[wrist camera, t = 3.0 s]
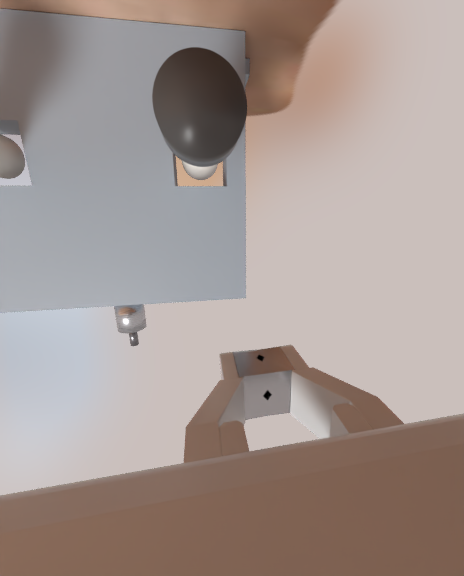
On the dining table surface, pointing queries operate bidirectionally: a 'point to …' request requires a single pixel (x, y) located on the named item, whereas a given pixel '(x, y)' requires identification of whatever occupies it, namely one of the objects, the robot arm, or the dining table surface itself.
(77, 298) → the mount
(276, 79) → the dining table surface
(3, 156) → the knob
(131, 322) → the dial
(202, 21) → the dining table surface
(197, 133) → the knob
